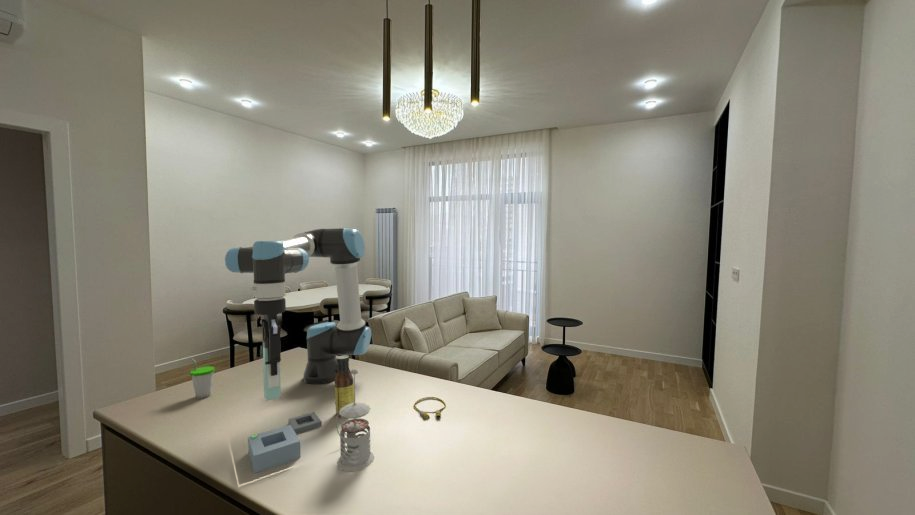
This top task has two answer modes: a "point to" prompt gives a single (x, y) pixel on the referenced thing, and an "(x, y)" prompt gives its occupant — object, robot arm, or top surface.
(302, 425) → the holster
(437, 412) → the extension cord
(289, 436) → the port
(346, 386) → the sauce bottle
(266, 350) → the plug
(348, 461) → the french press
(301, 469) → the top surface
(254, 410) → the top surface
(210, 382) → the cup
